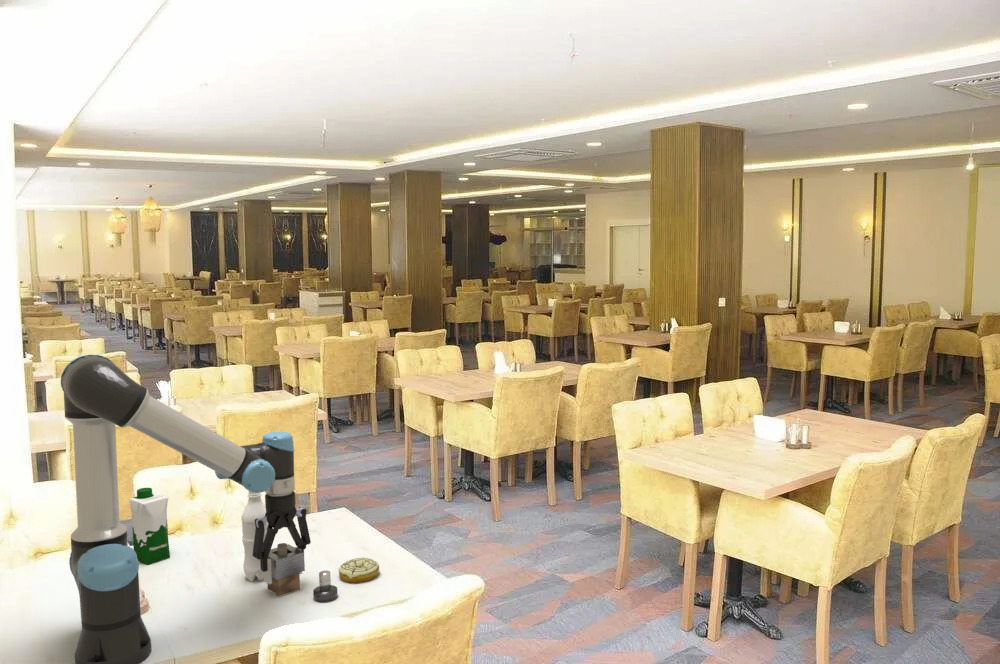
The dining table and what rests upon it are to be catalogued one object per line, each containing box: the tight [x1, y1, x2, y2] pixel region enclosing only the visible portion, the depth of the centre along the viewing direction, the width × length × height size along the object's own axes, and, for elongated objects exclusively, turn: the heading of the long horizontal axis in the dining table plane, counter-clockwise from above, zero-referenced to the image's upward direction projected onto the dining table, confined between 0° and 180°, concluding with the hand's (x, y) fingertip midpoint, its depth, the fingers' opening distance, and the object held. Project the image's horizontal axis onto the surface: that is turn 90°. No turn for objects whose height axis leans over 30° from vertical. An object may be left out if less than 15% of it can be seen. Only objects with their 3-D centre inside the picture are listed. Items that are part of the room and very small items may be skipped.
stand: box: [266, 542, 301, 597], centre depth 210 cm, size 6×6×12 cm
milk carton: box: [128, 487, 171, 566], centre depth 231 cm, size 9×9×20 cm
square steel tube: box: [261, 543, 306, 580], centre depth 210 cm, size 8×8×5 cm
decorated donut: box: [338, 557, 380, 584], centre depth 219 cm, size 10×11×4 cm
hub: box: [312, 570, 339, 604], centre depth 205 cm, size 6×6×6 cm
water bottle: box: [241, 490, 269, 582], centre depth 217 cm, size 7×7×25 cm
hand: (283, 577), depth 210 cm, fingers closed on square steel tube, 8 cm apart
